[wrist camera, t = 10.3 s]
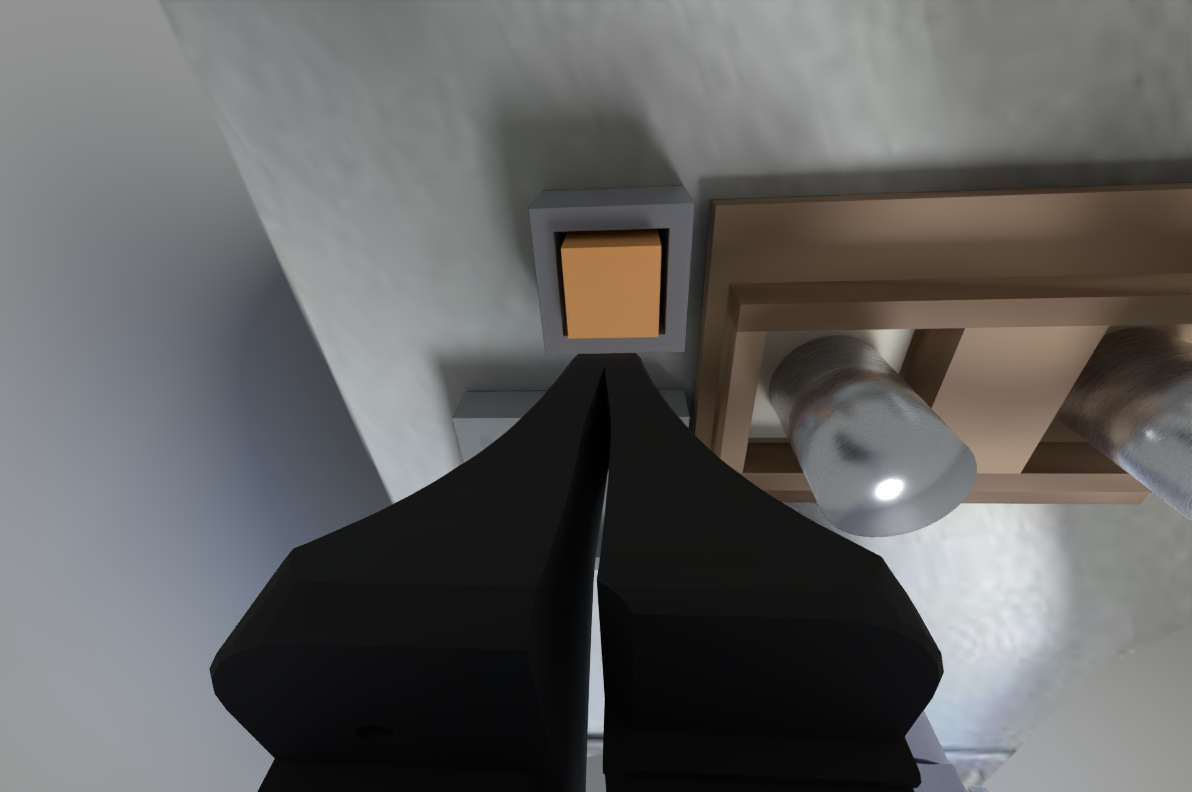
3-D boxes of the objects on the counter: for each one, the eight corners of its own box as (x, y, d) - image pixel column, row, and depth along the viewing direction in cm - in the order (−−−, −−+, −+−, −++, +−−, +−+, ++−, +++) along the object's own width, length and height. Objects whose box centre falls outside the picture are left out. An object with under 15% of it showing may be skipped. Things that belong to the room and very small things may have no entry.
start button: (653, 302, 18) (658, 337, 16) (576, 304, 18) (568, 338, 16) (655, 221, 16) (660, 245, 14) (570, 224, 17) (561, 248, 14)
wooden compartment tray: (1121, 489, 23) (1182, 538, 20) (686, 487, 24) (694, 533, 22) (1364, 176, 15) (1508, 193, 13) (711, 199, 17) (726, 219, 14)
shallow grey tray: (673, 538, 27) (677, 570, 25) (499, 536, 27) (490, 567, 26) (684, 389, 21) (689, 416, 19) (466, 391, 22) (452, 418, 20)
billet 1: (863, 427, 20) (942, 539, 15) (760, 425, 21) (804, 535, 16) (898, 335, 18) (1004, 432, 13) (780, 334, 18) (840, 428, 13)
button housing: (676, 317, 19) (684, 351, 17) (555, 319, 20) (545, 354, 17) (683, 185, 17) (694, 203, 14) (542, 190, 17) (528, 208, 14)
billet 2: (1135, 422, 20) (1309, 536, 15) (1024, 422, 20) (1158, 534, 15) (1205, 326, 17) (1441, 423, 12) (1077, 328, 18) (1257, 424, 13)
